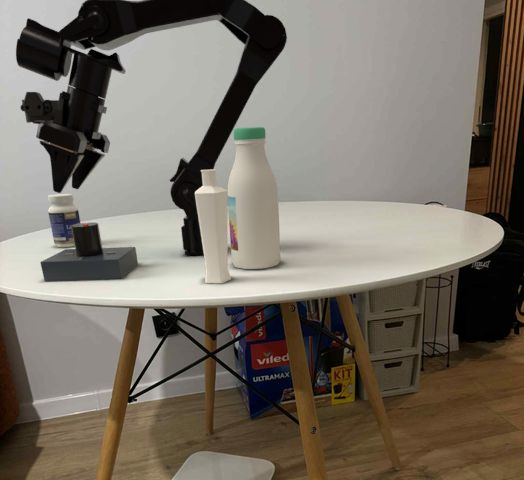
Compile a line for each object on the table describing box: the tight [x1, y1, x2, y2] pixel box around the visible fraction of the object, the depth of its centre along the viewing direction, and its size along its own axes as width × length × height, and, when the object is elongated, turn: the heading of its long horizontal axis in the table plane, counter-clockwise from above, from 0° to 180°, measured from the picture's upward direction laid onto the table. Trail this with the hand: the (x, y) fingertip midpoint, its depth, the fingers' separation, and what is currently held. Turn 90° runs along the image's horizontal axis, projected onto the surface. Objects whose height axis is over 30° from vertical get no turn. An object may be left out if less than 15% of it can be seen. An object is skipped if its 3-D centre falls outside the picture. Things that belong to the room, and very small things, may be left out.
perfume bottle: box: [195, 168, 232, 284], centre depth 69 cm, size 5×4×15 cm
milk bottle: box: [227, 126, 281, 270], centre depth 76 cm, size 8×8×20 cm
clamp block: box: [40, 246, 139, 282], centre depth 79 cm, size 12×9×3 cm
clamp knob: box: [71, 222, 103, 256], centre depth 78 cm, size 4×4×5 cm
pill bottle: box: [47, 193, 81, 248], centre depth 101 cm, size 6×6×10 cm
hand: (66, 190), depth 84 cm, fingers open, 9 cm apart
